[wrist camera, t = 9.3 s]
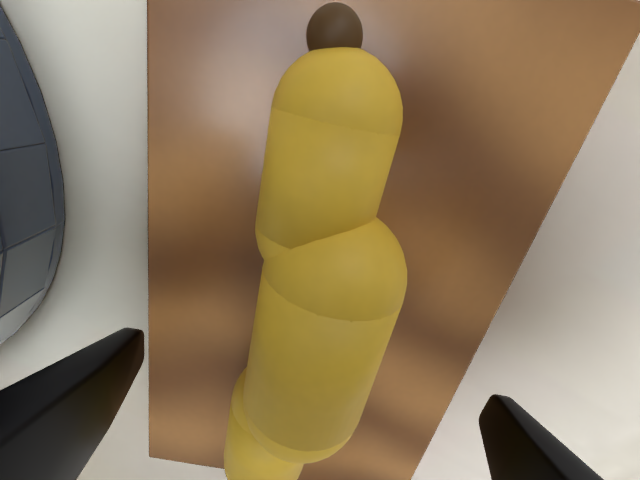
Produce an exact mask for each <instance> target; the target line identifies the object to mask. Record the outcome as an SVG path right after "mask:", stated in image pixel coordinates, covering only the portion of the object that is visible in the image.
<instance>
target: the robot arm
mask: <svg viewBox="0 0 640 480" xmlns="http://www.w3.org/2000/svg"><path fill="white" fill-rule="evenodd" d="M143 360H144V333H143V331H142V330H139V329H134V328H123V329H121V330H119V331H117V332H115V333H113V334H111V335H109V336H107V337H105V338H103V339H101V340H99V341H97V342H95V343H93V344H91V345H89V346H87V347H85V348H83V349H81V350H79V351H77V352H75V353H74V354H72V355H70V356H68V357H66V358H64V359H62V360H60V361H58V362H56V363H54V364H52V365H50V366H48V367H46V368H44V369H42V370H40V371H38V372H36V373H34V374H32V375H30V376H28V377H26V378H24V379H22V380H20V381H18V382H16V383H14V384H12V385H10V386H8V387H6V388H4V389H2V390H0V480H76V479H77V477H78V476H79V474H80V473H81V471H82V470H83V468H84V467H85V465H86V463H87V462H88V460H89V459H90V457H91V456H92V454H93V453H94V451H95V449H96V448H97V446H98V445H99V443H100V442H101V440H102V439H103V437H104V435H105V434H106V432H107V430H108V429H109V427H110V426H111V424H112V422H113V420H114V418H115V416H116V414H117V412H118V410H119V408H120V406H121V405H122V403H123V401H124V399H125V397H126V395H127V393H128V391H129V389H130V387H131V385H132V383H133V381H134V379H135V377H136V375H137V373H138V371H139V369H140V367H141V365H142V363H143ZM479 426H480V431H481V435H482V439H483V444H484V448H485V452H486V457H487V461H488V465H489V470H490V474H491V478H492V480H603V479H602V478H601V477H600V476H599V475H598V474H596V473H595V472H594V471H593V470H592V469H591V468H590V467H589V466H587V465H586V464H585V463H584V462H583V461H582V460H581V459H580V458H578V457H577V456H576V455H575V454H574V453H573V452H572V451H570V450H569V449H568V448H567V447H566V446H565V445H564V444H563V443H561V442H560V441H559V440H558V439H557V438H556V437H555V436H553V435H552V434H551V433H550V432H549V431H548V430H547V429H546V428H544V427H543V426H542V425H541V424H540V423H539V422H538V421H536V420H535V419H534V418H533V417H532V416H531V415H530V414H529V413H527V412H526V411H525V410H524V409H523V408H522V407H521V406H519V405H518V404H517V403H516V402H515V401H514V400H513V399H511V398H510V397H507V396H502V395H497V394H494V395H492V396H491V397H490V398H489V400H488V402H487V403H486V405H485V407H484V409H483V410H482V412H481V414H480V417H479Z"/></svg>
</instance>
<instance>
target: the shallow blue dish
mask: <svg viewBox="0 0 640 480" xmlns="http://www.w3.org/2000/svg"><path fill="white" fill-rule="evenodd" d="M64 222H65V213H64V188H63V178H62V173H61V167H60V161H59V156H58V150H57V144H56V140H55V136H54V133H53V130H52V126H51V123H50V120H49V116H48V113H47V110H46V106H45V103H44V100H43V96H42V93H41V91H40V89H39V86H38V84H37V81H36V79H35V77H34V74H33V72H32V69H31V67H30V65H29V62H28V60H27V57H26V55H25V53H24V50H23V48H22V46H21V43H20V41H19V39H18V37H17V35H16V34H15V32H14V30H13V28H12V26H11V24H10V22H9V20H8V19H7V17H6V15H5V13H4V11H3V9H2V7H1V5H0V344H2V343H3V342H4V341H6V340H7V339H8V338H9V337H11V336H12V335H13V334H15V333H16V332H17V331H18V329H19V328H20V327H21V326H22V325H23V324H24V323H26V321H27V320H28V319H29V317H30V316H31V315H32V314H33V312H34V311H35V310H36V309H37V307H38V306H39V305H40V304H41V302H42V300H43V298H44V296H45V294H46V292H47V290H48V288H49V286H50V284H51V282H52V280H53V278H54V274H55V271H56V268H57V264H58V261H59V257H60V254H61V249H62V240H63V231H64Z"/></svg>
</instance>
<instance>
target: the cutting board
mask: <svg viewBox="0 0 640 480" xmlns="http://www.w3.org/2000/svg"><path fill="white" fill-rule="evenodd" d="M332 2H339V3H343V4H346V5H348V6H349V7H351V8H352V9H353V10H354V11H355V12H356V14H357V15H358V17H359V19H360V21H361V24H362V28H363V41H362V46H361V49H362V50H364V51H366V52H368V53H369V54H371V55H373V56H375V57H376V58H377V59H378V60H379V61H380V62H381V63H382V64H383V65H384V66H385V67H386V68H387V69H388V70H389V72H390V73H391V75H392V76H393V78H394V79H395V82H396V84H397V87H398V89H399V91H400V95H401V100H402V106H403V122H402V127H401V132H400V136H399V140H398V143H397V147H396V150H395V153H394V157H393V160H392V164H391V167H390V171H389V174H388V177H387V181H386V184H385V188H384V191H383V195H382V198H381V201H380V205H379V208H378V212H377V215H376V217H377V218H378V219H379V220H381V221H382V222H383V223H384V224H385V225H386V226H387V227H388V228H389V229H390V230H391V232H392V233H393V234H394V235H395V237H396V238H397V240H398V242H399V244H400V246H401V248H402V251H403V253H404V258H405V262H406V267H407V287H406V292H405V296H404V301H403V304H402V307H401V309H400V312H399V315H398V318H397V320H396V323H395V326H394V328H393V331H392V334H391V337H390V339H389V342H388V345H387V347H386V350H385V353H384V356H383V358H382V361H381V364H380V366H379V369H378V372H377V375H376V377H375V380H374V383H373V385H372V388H371V391H370V394H369V396H368V399H367V402H366V404H365V407H364V410H363V413H362V415H361V418H360V421H359V423H358V425H357V427H356V429H355V430H354V432H353V434H352V436H351V438H350V439H349V440H348V441H347V442H346V444H345V445H344V446H343V447H342V448H341V449H339V450H338V451H337V452H336V453H334V454H333V455H331V456H330V457H328V458H325V459H323V460H320V461H317V462H313V463H306V464H304V465H303V468H302V471H301V473H300V475H299V477H298V479H297V480H411V478H412V476H413V474H414V472H415V470H416V468H417V466H418V464H419V462H420V460H421V459H422V457H423V455H424V453H425V451H426V449H427V447H428V445H429V443H430V441H431V439H432V437H433V435H434V433H435V431H436V429H437V427H438V425H439V423H440V421H441V420H442V418H443V416H444V414H445V412H446V410H447V408H448V406H449V404H450V402H451V400H452V398H453V396H454V394H455V392H456V390H457V388H458V386H459V384H460V382H461V380H462V379H463V377H464V375H465V373H466V371H467V369H468V367H469V365H470V363H471V361H472V359H473V357H474V355H475V353H476V351H477V349H478V347H479V345H480V343H481V341H482V339H483V338H484V336H485V334H486V332H487V330H488V328H489V326H490V324H491V322H492V320H493V318H494V316H495V314H496V312H497V310H498V308H499V306H500V304H501V302H502V300H503V298H504V297H505V295H506V293H507V291H508V289H509V287H510V285H511V283H512V281H513V279H514V277H515V275H516V273H517V271H518V269H519V267H520V265H521V263H522V261H523V259H524V257H525V256H526V254H527V252H528V250H529V248H530V246H531V244H532V242H533V240H534V238H535V236H536V234H537V232H538V230H539V228H540V226H541V224H542V222H543V220H544V218H545V217H546V215H547V213H548V211H549V209H550V207H551V205H552V203H553V201H554V199H555V197H556V195H557V193H558V191H559V189H560V187H561V185H562V183H563V181H564V179H565V177H566V176H567V174H568V172H569V170H570V168H571V166H572V164H573V162H574V160H575V158H576V156H577V154H578V152H579V150H580V148H581V146H582V144H583V142H584V140H585V138H586V136H587V135H588V133H589V131H590V129H591V127H592V125H593V123H594V121H595V119H596V117H597V115H598V113H599V111H600V109H601V107H602V105H603V103H604V101H605V99H606V97H607V95H608V94H609V92H610V90H611V88H612V86H613V84H614V82H615V80H616V78H617V76H618V74H619V72H620V70H621V68H622V66H623V64H624V62H625V60H626V58H627V56H628V54H629V53H630V51H631V49H632V47H633V45H634V43H635V41H636V39H637V37H638V35H639V33H640V1H638V0H147V87H148V324H149V456H150V457H153V458H159V459H166V460H172V461H178V462H184V463H190V464H196V465H203V466H209V467H215V468H221V469H225V468H224V449H225V442H226V434H227V427H228V420H229V412H230V405H231V398H232V393H233V389H234V386H235V384H236V382H237V379H238V378H239V376H240V374H241V373H242V372H243V370H244V369H245V368H246V367H247V364H248V357H249V351H250V344H251V338H252V331H253V325H254V318H255V312H256V305H257V299H258V292H259V286H260V280H261V273H262V267H263V262H264V259H263V257H262V255H261V253H260V251H259V249H258V245H257V240H256V234H255V222H256V215H257V207H258V200H259V193H260V185H261V178H262V171H263V163H264V156H265V149H266V141H267V134H268V127H269V120H270V112H271V106H272V101H273V97H274V93H275V90H276V88H277V86H278V84H279V81H280V79H281V78H282V76H283V75H284V73H285V72H286V71H287V69H288V68H289V67H290V66H291V65H292V64H293V63H294V62H295V61H296V60H297V59H298V58H299V57H301V56H303V55H304V54H306V53H308V52H309V49H308V46H307V41H306V32H307V26H308V23H309V21H310V18H311V17H312V15H313V14H314V13H315V11H316V10H317V9H319V8H320V7H321V6H323V5H325V4H327V3H332Z"/></svg>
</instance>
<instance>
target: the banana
mask: <svg viewBox="0 0 640 480" xmlns="http://www.w3.org/2000/svg"><path fill="white" fill-rule="evenodd" d="M306 41H307V46H308V49H309V52H308V53H306V54H304V55H303V56H301V57H299V58H298V59H297V60H296V61H295V62H294V63H293V64H292V65H291V66H290V67H289V68H288V69H287V71H286V72H285V73H284V75H283V76H282V78H281V79H280V81H279V84H278V86H277V88H276V90H275V93H274V97H273V101H272V106H271V112H270V120H269V127H268V134H267V141H266V149H265V156H264V163H263V171H262V178H261V185H260V193H259V200H258V207H257V215H256V222H255V234H256V240H257V245H258V249H259V251H260V253H261V255H262V257H263V259H264V262H263V267H262V273H261V280H260V286H259V292H258V299H257V305H256V312H255V318H254V325H253V331H252V338H251V344H250V351H249V357H248V364H247V367H246V368H245V369H244V370H243V372H242V373H241V374H240V376H239V378H238V379H237V382H236V384H235V386H234V389H233V393H232V398H231V405H230V412H229V420H228V427H227V434H226V442H225V449H224V468H225V473H226V476H227V478H228V480H297V479H298V477H299V475H300V473H301V471H302V468H303V465H304V464H306V463H313V462H317V461H320V460H323V459H325V458H328V457H330V456H331V455H333V454H334V453H336V452H337V451H338V450H339V449H341V448H342V447H343V446H344V445H345V444H346V442H347V441H348V440H349V439H350V438H351V436H352V434H353V432H354V430H355V429H356V427H357V425H358V423H359V421H360V418H361V415H362V413H363V410H364V407H365V404H366V402H367V399H368V396H369V394H370V391H371V388H372V385H373V383H374V380H375V377H376V375H377V372H378V369H379V366H380V364H381V361H382V358H383V356H384V353H385V350H386V347H387V345H388V342H389V339H390V337H391V334H392V331H393V328H394V326H395V323H396V320H397V318H398V315H399V312H400V309H401V307H402V304H403V301H404V296H405V292H406V287H407V267H406V262H405V258H404V253H403V251H402V248H401V246H400V244H399V242H398V240H397V238H396V237H395V235H394V234H393V233H392V232H391V230H390V229H389V228H388V227H387V226H386V225H385V224H384V223H383V222H382V221H381V220H379V219H378V218H377V217H376V215H377V212H378V208H379V205H380V201H381V198H382V195H383V191H384V188H385V184H386V181H387V177H388V174H389V171H390V167H391V164H392V160H393V157H394V153H395V150H396V147H397V143H398V140H399V136H400V132H401V127H402V122H403V106H402V100H401V95H400V91H399V89H398V87H397V84H396V82H395V79H394V78H393V76H392V75H391V73H390V72H389V70H388V69H387V68H386V67H385V66H384V65H383V64H382V63H381V62H380V61H379V60H378V59H377V58H376V57H375V56H373V55H371V54H369V53H368V52H366V51H364V50H362V49H361V46H362V41H363V28H362V24H361V21H360V19H359V17H358V15H357V14H356V12H355V11H354V10H353V9H352V8H351V7H349V6H348V5H346V4H343V3H339V2H332V3H327V4H325V5H323V6H321V7H320V8H319V9H317V10H316V11H315V13H314V14H313V15H312V17H311V18H310V21H309V23H308V26H307V32H306Z"/></svg>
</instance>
